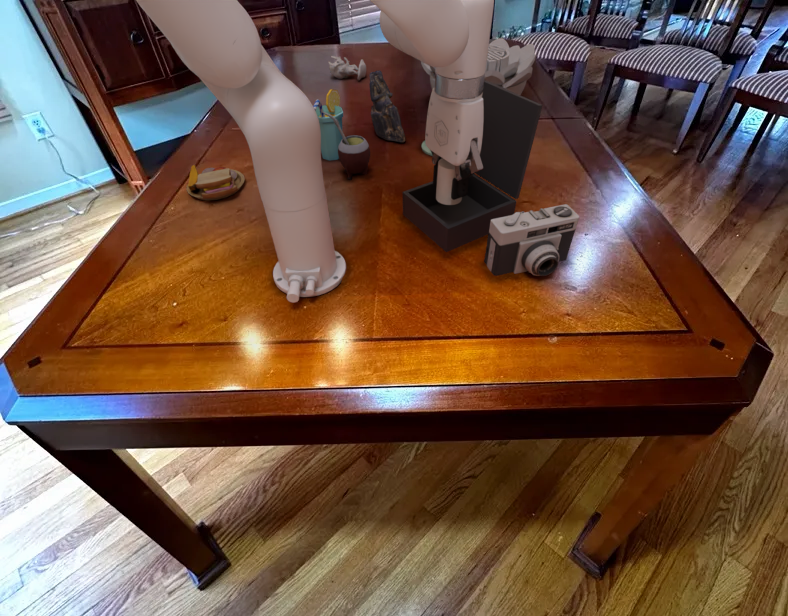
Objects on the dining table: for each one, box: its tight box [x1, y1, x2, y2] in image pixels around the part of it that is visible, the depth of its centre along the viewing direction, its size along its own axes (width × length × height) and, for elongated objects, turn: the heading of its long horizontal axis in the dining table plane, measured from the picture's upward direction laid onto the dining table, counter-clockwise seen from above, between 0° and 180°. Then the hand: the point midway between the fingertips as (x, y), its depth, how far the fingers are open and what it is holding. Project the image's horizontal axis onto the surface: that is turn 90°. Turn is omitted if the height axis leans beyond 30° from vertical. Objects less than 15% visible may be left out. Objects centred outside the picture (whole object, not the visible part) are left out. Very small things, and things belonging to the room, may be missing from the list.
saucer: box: [421, 140, 433, 157], centre depth 110 cm, size 10×10×1 cm
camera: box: [483, 203, 580, 277], centre depth 74 cm, size 14×8×10 cm, turn 106°
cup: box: [312, 88, 344, 161], centre depth 103 cm, size 14×8×15 cm, turn 169°
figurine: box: [328, 55, 367, 82], centre depth 145 cm, size 9×6×12 cm
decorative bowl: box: [420, 37, 537, 96], centre depth 120 cm, size 30×30×15 cm
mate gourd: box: [322, 111, 371, 182], centre depth 97 cm, size 8×8×15 cm
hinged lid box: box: [401, 173, 517, 253], centre depth 86 cm, size 16×15×6 cm
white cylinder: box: [436, 158, 465, 205], centre depth 80 cm, size 5×5×7 cm
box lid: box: [475, 80, 543, 200], centre depth 81 cm, size 16×15×1 cm
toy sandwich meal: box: [185, 164, 246, 201], centre depth 98 cm, size 12×14×5 cm
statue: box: [368, 69, 406, 143], centre depth 110 cm, size 6×12×15 cm, turn 39°
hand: (449, 189), depth 82 cm, fingers closed on white cylinder, 4 cm apart
